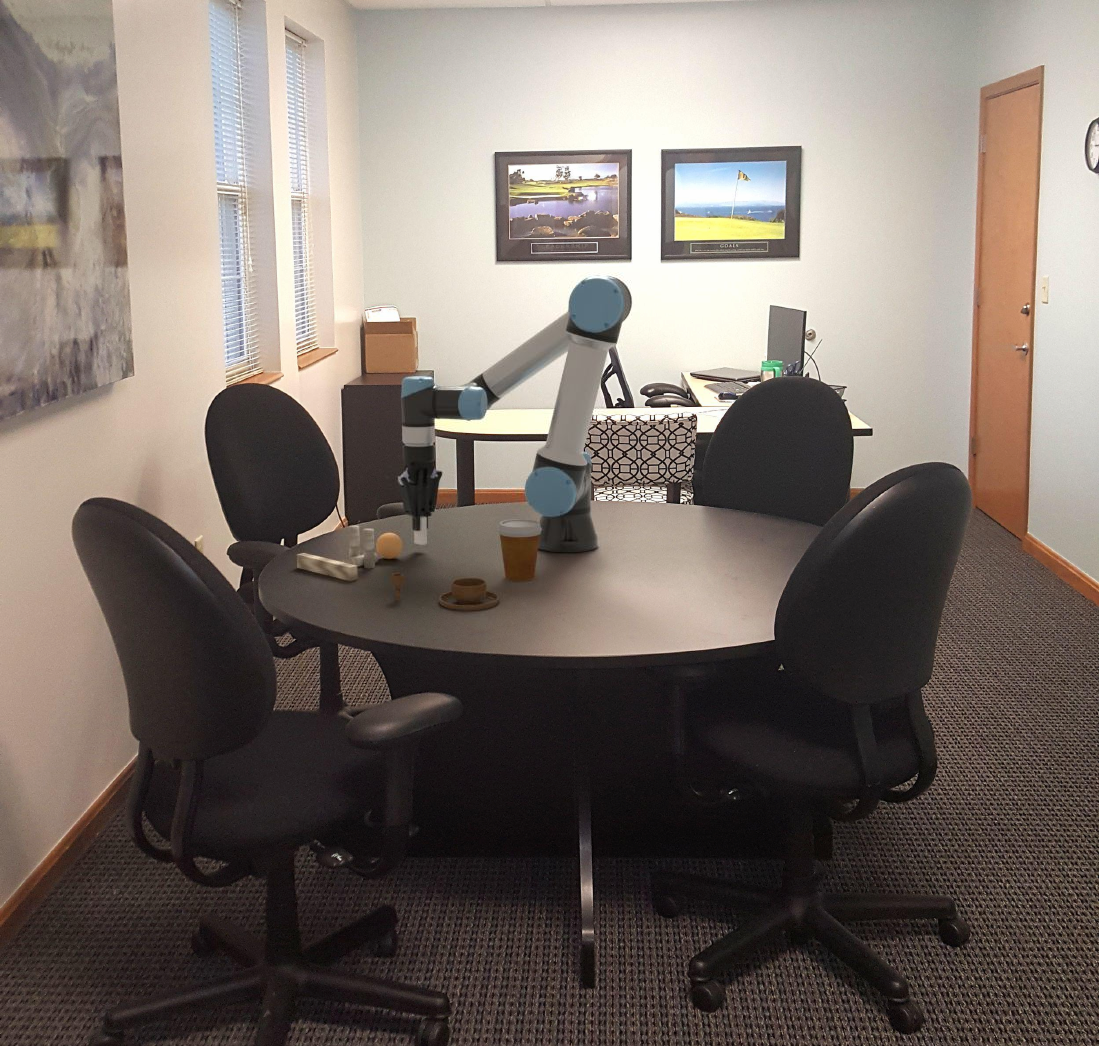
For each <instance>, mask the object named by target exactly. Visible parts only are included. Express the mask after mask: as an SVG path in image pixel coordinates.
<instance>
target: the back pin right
mask: <svg viewBox="0 0 1099 1046" xmlns="http://www.w3.org/2000/svg"><path fill="white" fill-rule="evenodd" d="M347 530H348V532H347V533H348V558H351V557H355V556H360V555H361V552H360V550H361V547H360V546H361V544H360V543H361V542H360V541H361V540H360V526H359V525H356V524H355V525H349V526H348V529H347Z"/></svg>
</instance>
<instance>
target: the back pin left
mask: <svg viewBox="0 0 1099 1046" xmlns="http://www.w3.org/2000/svg"><path fill="white" fill-rule="evenodd" d="M362 533H363V534H362V536H363V538H362V541H363V542H362V543H363V546H362V547H363V555H364V566H363V568H365V569H374V568H375V567H376V563H375V553H376V552H375V529H374V528H363V529H362Z"/></svg>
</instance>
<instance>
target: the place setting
mask: <svg viewBox="0 0 1099 1046" xmlns="http://www.w3.org/2000/svg"><path fill="white" fill-rule="evenodd" d="M390 579H391V586H392V587H393V589H395V598H396V599H395V601H396V602H397V601H398V602H399V601H401V592H400V591H401V588H402V587H404V582H405V581H404V580H405V579H404V573H401V572H397V573H396V572H395V573H391V578H390ZM498 595H499V594H497V593H495V592H492V591H489V590H487V581H486V580H485V579H481V578H478V577H464V578H463V577H462V578H457V579H454V580H452V581H451V591H448V592H445V593H442V594H440V595H439V597H438V601H439V604H440V605H441V606H442V607H443V606H444V608H446V609H449V608H450V609H449V610H454V609H456V610H455V611H480V610H479V609H481V610H486V609H485V608H487V609H490V607H491V608H494V607H495V606H496V605H498V603H499V602H500V595H499V596H498ZM485 596H486V597H485ZM450 597H452V598H453V599H454V600H455V601H457V602H458V603H459V604H455V603H450V602H447V601H446V600H448V599H447V598H449V599H451V598H450ZM488 597H491V598H493V599H494V600H493V599H492V600H493V601H490V602H486V603H481V604H480V602H481V601H483V599H484V598H488ZM491 598H490V599H491ZM445 599H446V600H445ZM444 600H445V601H444ZM477 603H478V604H477ZM462 604H463V605H462ZM474 604H476V605H474ZM416 608H417V609H418V608H419V606H416Z"/></svg>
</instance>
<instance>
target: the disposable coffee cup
mask: <svg viewBox="0 0 1099 1046" xmlns="http://www.w3.org/2000/svg"><path fill="white" fill-rule="evenodd" d="M539 522H540V521H537V520H533V519H524V518H522V519H521V518H519V519H518V518H515V519H513V518H511V519H505V520H501V521H500V522H499V523H498V524H499V525H498V528H497V531H498V534H499V539H500V546H501V554H502V561H503V569H504V577H505V579H506V580H507V581H508V580H509V581H513V582H526V581H531V580H534V579H535V577H536V576H535V575H536V567H537V560H538V559H537V558H538V552H539V549H538V545H539V537H540V534H541V531H542V528H541V526H540V523H539Z"/></svg>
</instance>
